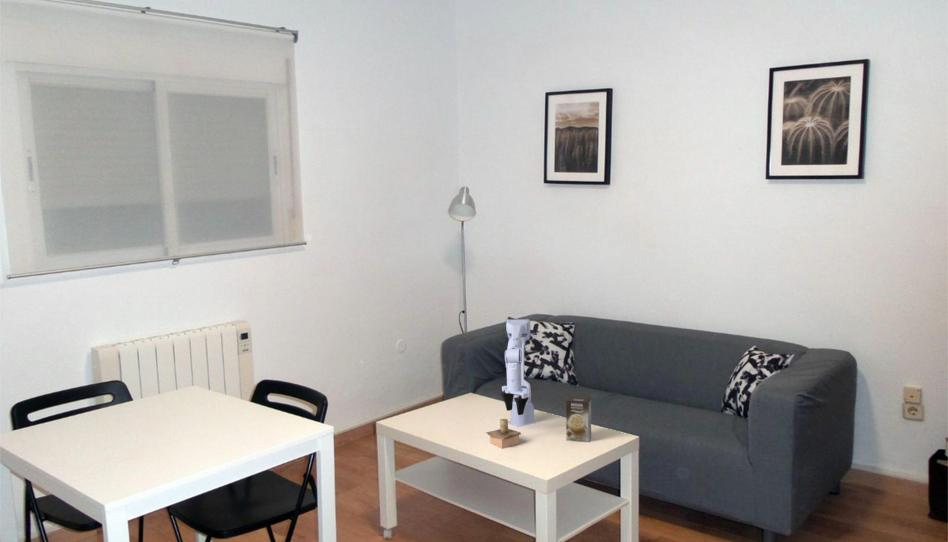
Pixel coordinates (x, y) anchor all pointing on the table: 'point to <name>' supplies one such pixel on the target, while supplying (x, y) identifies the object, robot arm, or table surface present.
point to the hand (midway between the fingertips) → (514, 412)
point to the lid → (504, 431)
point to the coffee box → (578, 419)
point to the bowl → (504, 442)
